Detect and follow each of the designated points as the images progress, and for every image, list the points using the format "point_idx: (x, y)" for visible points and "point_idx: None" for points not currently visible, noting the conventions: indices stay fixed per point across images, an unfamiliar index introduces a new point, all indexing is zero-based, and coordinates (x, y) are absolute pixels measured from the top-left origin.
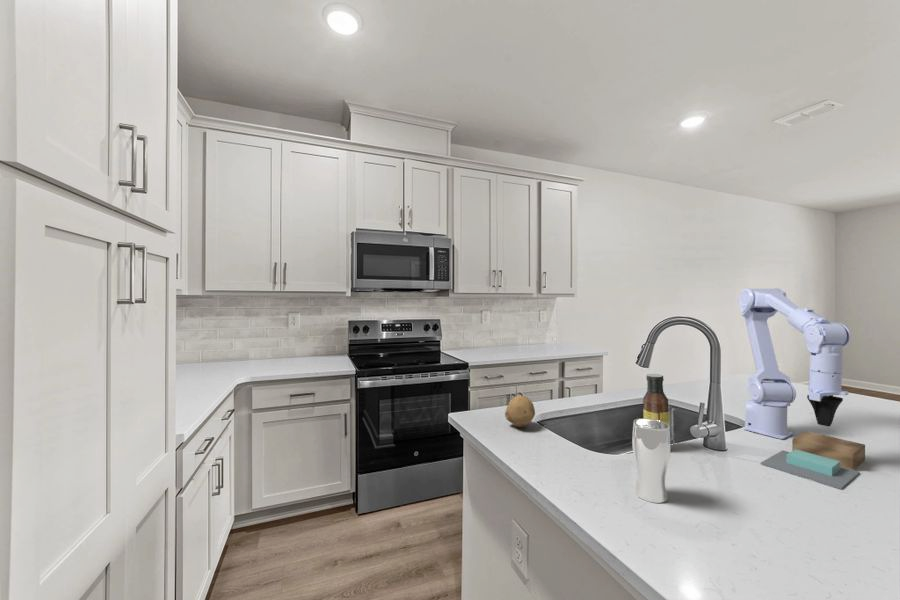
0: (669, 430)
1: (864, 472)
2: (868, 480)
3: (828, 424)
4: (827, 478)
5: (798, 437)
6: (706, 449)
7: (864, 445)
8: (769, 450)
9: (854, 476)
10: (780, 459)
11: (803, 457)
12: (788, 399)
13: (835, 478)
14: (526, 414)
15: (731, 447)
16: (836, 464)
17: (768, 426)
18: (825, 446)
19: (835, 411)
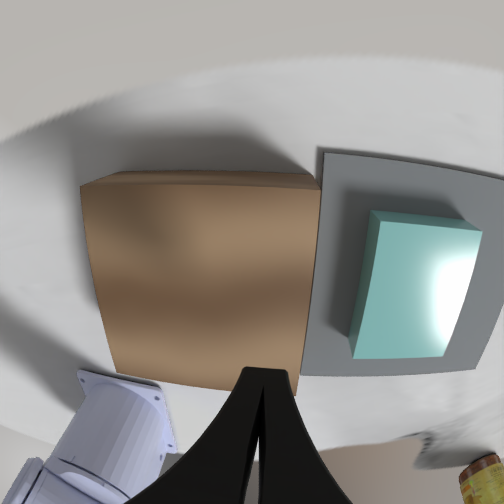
0: (495, 488)
1: (289, 141)
2: (384, 121)
3: (288, 383)
4: (493, 226)
5: None
6: (437, 446)
7: (91, 185)
8: (322, 393)
9: (405, 161)
10: None
11: (438, 319)
12: (51, 482)
13: (477, 208)
14: None
15: (381, 437)
16: (431, 225)
17: (154, 437)
18: (300, 299)
19: (202, 450)
